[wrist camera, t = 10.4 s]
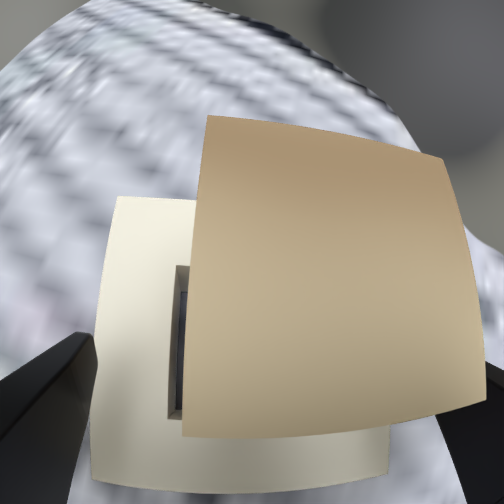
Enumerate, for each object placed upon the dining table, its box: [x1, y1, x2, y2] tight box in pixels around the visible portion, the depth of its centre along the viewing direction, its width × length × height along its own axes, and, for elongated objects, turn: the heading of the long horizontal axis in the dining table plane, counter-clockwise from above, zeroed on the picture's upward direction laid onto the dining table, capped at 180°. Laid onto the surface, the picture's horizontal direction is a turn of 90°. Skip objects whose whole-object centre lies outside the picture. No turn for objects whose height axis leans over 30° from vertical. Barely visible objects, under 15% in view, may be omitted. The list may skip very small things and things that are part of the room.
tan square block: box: [182, 115, 486, 439], centre depth 10 cm, size 4×4×13 cm
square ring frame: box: [90, 196, 390, 494], centre depth 14 cm, size 12×12×4 cm
